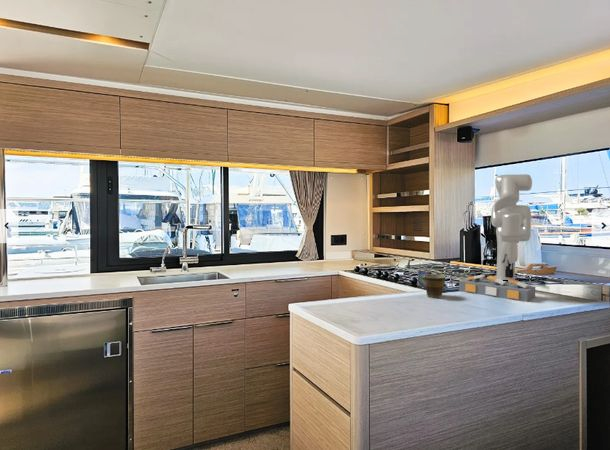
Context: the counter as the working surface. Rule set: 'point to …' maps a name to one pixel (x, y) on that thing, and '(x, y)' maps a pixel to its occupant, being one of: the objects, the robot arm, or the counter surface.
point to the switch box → (497, 289)
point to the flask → (421, 274)
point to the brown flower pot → (433, 285)
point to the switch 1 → (475, 277)
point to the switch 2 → (496, 280)
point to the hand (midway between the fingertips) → (509, 277)
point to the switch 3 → (518, 283)
